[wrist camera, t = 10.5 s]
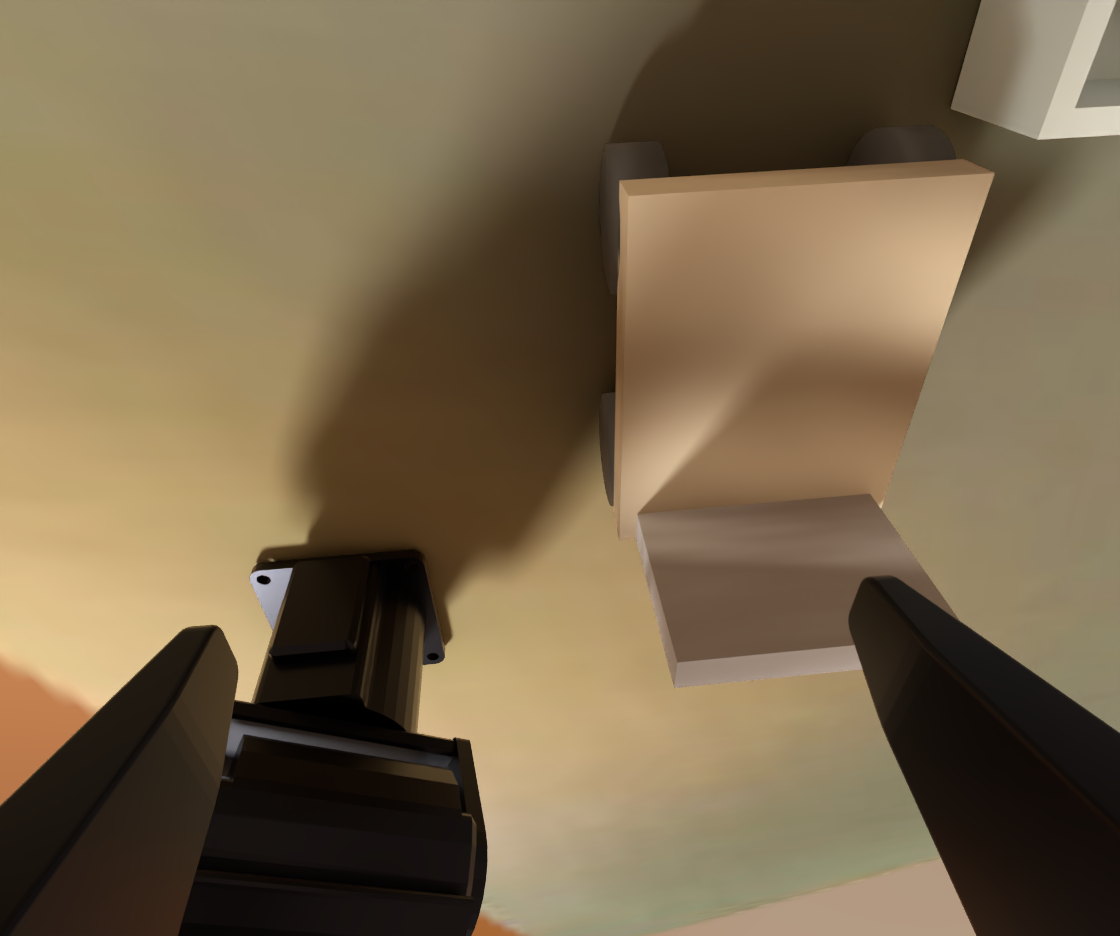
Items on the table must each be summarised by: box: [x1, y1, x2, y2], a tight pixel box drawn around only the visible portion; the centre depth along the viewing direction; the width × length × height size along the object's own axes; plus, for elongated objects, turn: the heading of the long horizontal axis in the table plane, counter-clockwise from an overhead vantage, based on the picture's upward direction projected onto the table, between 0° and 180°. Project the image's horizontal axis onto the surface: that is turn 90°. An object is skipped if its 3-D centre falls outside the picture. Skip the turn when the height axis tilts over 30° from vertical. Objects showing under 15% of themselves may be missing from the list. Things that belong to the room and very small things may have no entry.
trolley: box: [599, 125, 995, 688], centre depth 17 cm, size 11×8×10 cm
